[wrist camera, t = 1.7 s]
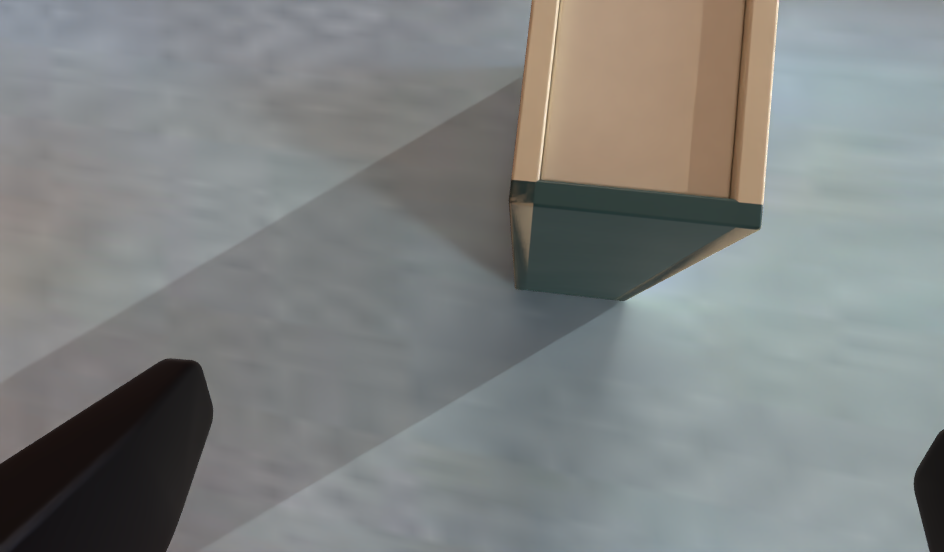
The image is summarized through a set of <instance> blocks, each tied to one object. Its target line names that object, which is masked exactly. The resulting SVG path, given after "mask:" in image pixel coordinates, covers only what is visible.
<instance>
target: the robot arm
mask: <svg viewBox="0 0 944 552" xmlns="http://www.w3.org/2000/svg"><path fill="white" fill-rule="evenodd" d="M212 419H213V406H212V401H211V398H210V394H209V391H208V387H207V384H206V380H205V377H204V373H203V370H202V367H201V366H200V364H199V363H198V362H196V361H193V360H182V359H171V358H170V359H165V360H162V361H160V362H158V363H157V364H155V365H154V366H152V367H151V368H149V369H147V370H146V371H144V372H143V373H141V374H140V375H138V376H137V377H135V378H133V379H132V380H130V381H129V382H127V383H126V384H124V385H123V386H121V387H119V388H118V389H116V390H115V391H113V392H112V393H110V394H109V395H107V396H105V397H104V398H102V399H101V400H99V401H98V402H96V403H94V404H93V405H91V406H90V407H88V408H87V409H85V410H84V411H82V412H80V413H79V414H77V415H76V416H74V417H73V418H71V419H70V420H68V421H66V422H65V423H63V424H62V425H60V426H59V427H57V428H56V429H54V430H52V431H51V432H49V433H48V434H46V435H45V436H43V437H42V438H40V439H38V440H37V441H35V442H34V443H32V444H31V445H29V446H28V447H26V448H24V449H23V450H21V451H20V452H18V453H17V454H15V455H13V456H12V457H10V458H9V459H7V460H6V461H4V462H3V463H1V464H0V552H166V551H167V548H168V546H169V544H170V541H171V539H172V537H173V534H174V532H175V529H176V527H177V524H178V521H179V518H180V516H181V513H182V510H183V507H184V504H185V501H186V498H187V495H188V492H189V489H190V486H191V483H192V480H193V477H194V474H195V471H196V468H197V465H198V462H199V459H200V457H201V454H202V451H203V448H204V445H205V442H206V439H207V436H208V433H209V430H210V427H211V424H212ZM914 491H915V496H916V500H917V503H918V507H919V511H920V515H921V519H922V523H923V527H924V531H925V535H926V539H927V543H928V547H929V551H930V552H944V429H943V430H942V431H940V432H939V434H938V435H937V437H936V438H935V440H934V442H933V443H932V445H931V447H930V448H929V450H928V452H927V453H926V455H925V457H924V458H923V460H922V462H921V463H920V465H919V467H918V468H917V471H916V473H915V477H914Z"/></svg>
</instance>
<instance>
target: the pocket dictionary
mask: <svg viewBox="0 0 944 552" xmlns="http://www.w3.org/2000/svg"><path fill="white" fill-rule="evenodd" d="M778 5H779V0H532V5H531V13H530V22H529V31H528V39H527V48H526V57H525V65H524V74H523V82H522V91H521V100H520V108H519V117H518V126H517V134H516V143H515V152H514V160H513V169H512V177H511V186H510V195H509V211H510V226H511V240H512V254H513V268H514V282H515V289H521V290H530V291H539V292H548V293H557V294H566V295H575V296H584V297H592V298H601V299H610V300H619V301H625V300H627V299H629V298H631V297H633V296H635V295H637V294H639V293H641V292H642V291H644V290H646V289H648V288H650V287H652V286H654V285H656V284H658V283H659V282H661V281H663V280H665V279H667V278H669V277H671V276H673V275H675V274H677V273H678V272H680V271H682V270H684V269H686V268H688V267H690V266H692V265H694V264H695V263H697V262H699V261H701V260H703V259H705V258H707V257H709V256H711V255H712V254H714V253H716V252H718V251H720V250H722V249H724V248H726V247H728V246H730V245H731V244H733V243H735V242H737V241H739V240H741V239H743V238H745V237H747V236H748V235H750V234H752V233H754V232H756V231H758V230H760V229H761V227H762V215H763V202H764V189H765V176H766V163H767V149H768V136H769V123H770V110H771V97H772V84H773V71H774V57H775V44H776V31H777V18H778Z"/></svg>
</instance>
